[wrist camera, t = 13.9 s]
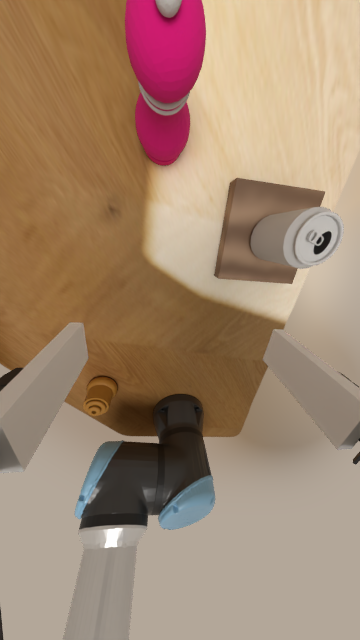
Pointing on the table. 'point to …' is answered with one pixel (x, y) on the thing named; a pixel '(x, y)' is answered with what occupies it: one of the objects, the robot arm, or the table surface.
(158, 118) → the pepper mill
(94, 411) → the ornamental finial
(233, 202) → the walnut plinth
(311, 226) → the can
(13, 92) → the table surface
